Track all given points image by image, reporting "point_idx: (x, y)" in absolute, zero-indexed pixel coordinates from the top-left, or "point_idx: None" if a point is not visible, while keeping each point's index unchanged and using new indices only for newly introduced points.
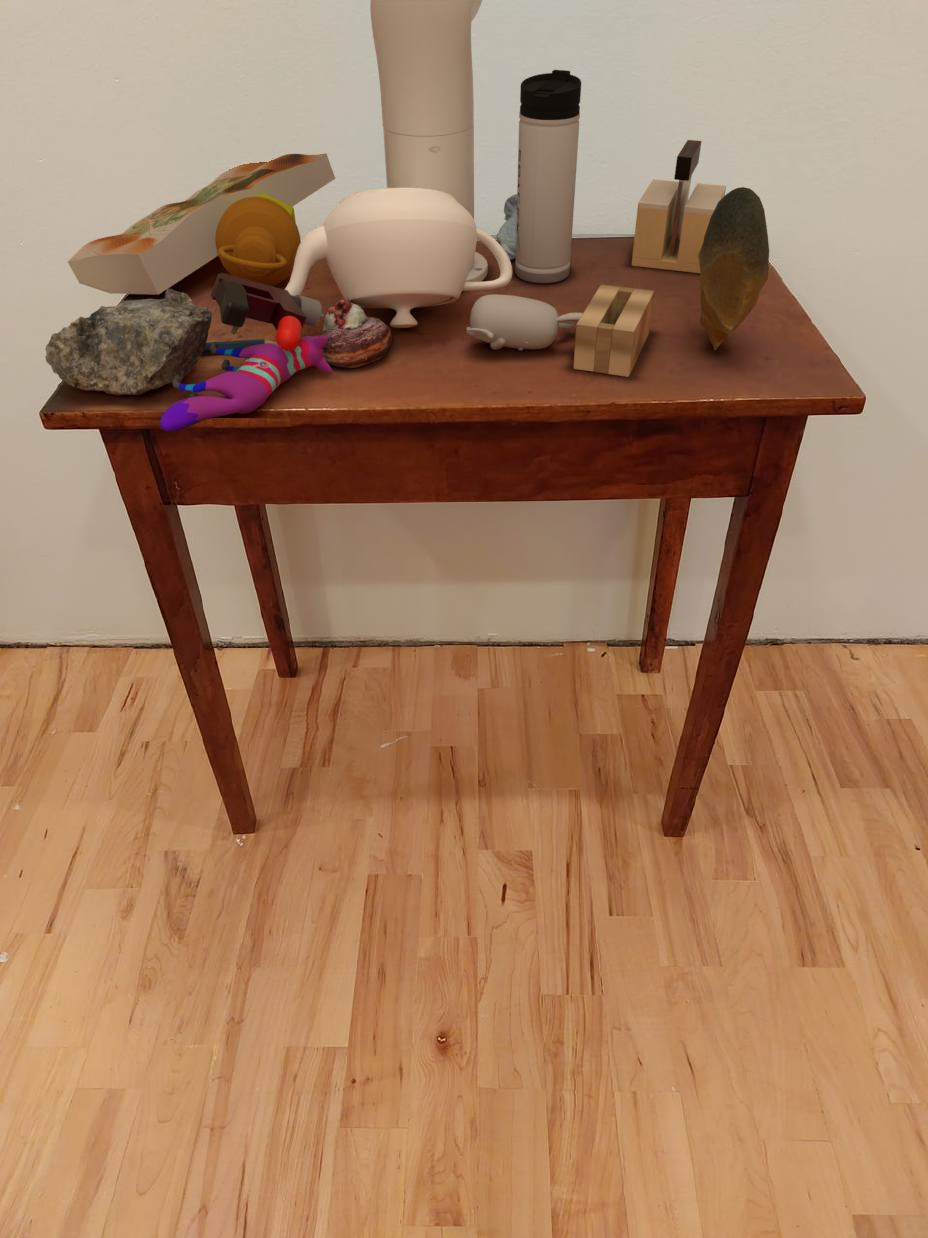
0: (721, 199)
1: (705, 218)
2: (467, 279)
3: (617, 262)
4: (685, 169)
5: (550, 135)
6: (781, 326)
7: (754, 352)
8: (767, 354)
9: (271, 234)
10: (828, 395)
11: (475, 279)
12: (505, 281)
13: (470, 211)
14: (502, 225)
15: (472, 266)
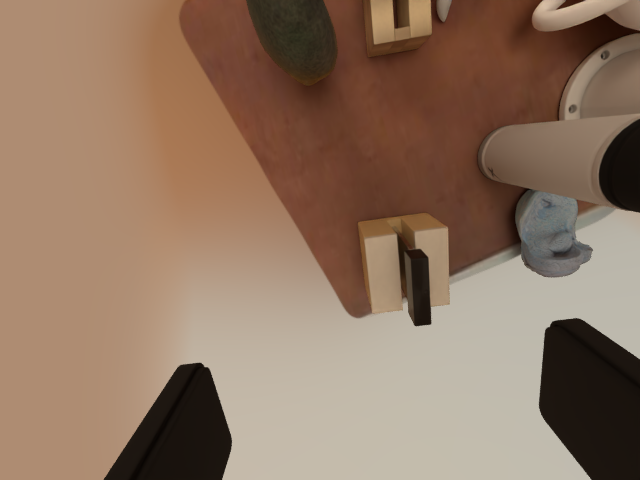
0: (319, 15)
1: (371, 234)
2: (577, 76)
3: (440, 215)
4: (412, 253)
5: (619, 119)
6: (265, 135)
7: (269, 65)
8: (258, 66)
9: None
10: (188, 3)
11: (568, 87)
12: (537, 7)
13: (638, 95)
14: (577, 209)
15: (581, 108)
